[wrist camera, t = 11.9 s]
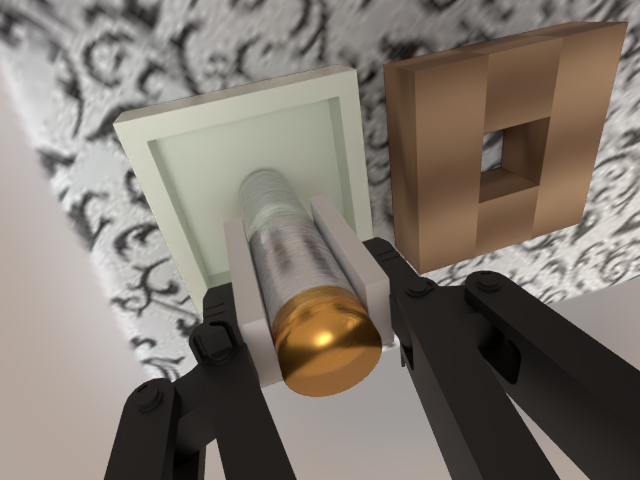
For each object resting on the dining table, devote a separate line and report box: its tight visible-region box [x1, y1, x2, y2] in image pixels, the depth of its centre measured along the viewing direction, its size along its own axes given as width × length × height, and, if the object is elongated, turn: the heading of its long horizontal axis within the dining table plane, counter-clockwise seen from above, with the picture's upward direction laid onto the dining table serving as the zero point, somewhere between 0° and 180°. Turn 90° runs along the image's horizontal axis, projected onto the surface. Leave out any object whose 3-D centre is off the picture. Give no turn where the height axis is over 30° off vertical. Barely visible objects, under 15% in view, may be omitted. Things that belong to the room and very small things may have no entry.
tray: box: [113, 64, 373, 315], centre depth 21 cm, size 11×11×3 cm
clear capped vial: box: [239, 171, 382, 397], centre depth 16 cm, size 3×3×12 cm
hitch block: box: [383, 22, 628, 275], centre depth 23 cm, size 12×12×4 cm
